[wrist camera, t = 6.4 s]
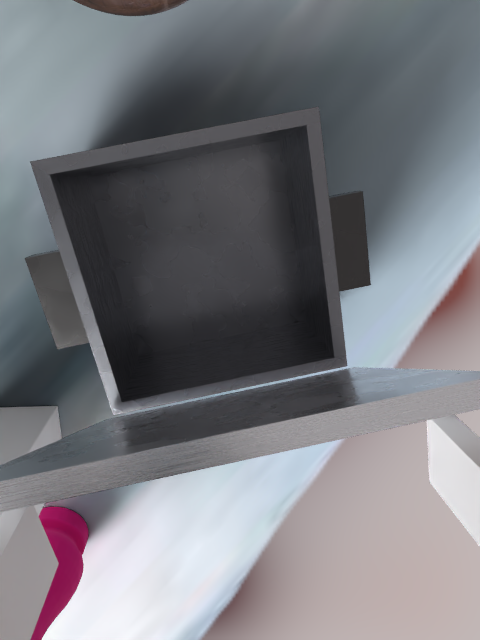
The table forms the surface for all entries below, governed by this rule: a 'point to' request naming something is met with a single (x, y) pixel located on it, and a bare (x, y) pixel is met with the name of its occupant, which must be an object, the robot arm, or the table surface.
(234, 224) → the gray box
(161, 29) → the table surface
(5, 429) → the milk
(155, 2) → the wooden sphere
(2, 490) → the lid
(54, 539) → the pepper mill
